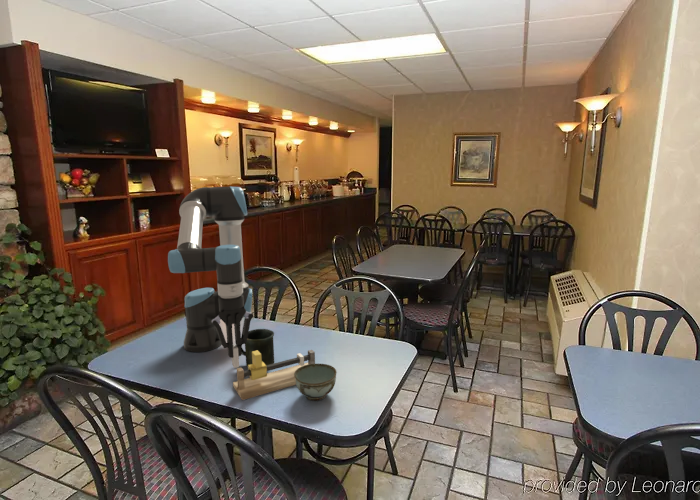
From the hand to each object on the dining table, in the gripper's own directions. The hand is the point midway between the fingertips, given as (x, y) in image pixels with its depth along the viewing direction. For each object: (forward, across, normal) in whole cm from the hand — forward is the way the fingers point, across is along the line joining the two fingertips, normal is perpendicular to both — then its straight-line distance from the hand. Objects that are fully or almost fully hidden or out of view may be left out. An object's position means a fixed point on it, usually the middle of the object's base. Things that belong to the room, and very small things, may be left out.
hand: (235, 365), depth 135 cm
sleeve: (+6, +7, 0) cm, 9 cm away
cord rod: (+4, +14, 0) cm, 15 cm away
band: (+5, +23, 0) cm, 23 cm away
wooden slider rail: (+10, +14, 0) cm, 17 cm away
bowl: (+10, +21, -15) cm, 28 cm away
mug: (+10, +12, +17) cm, 23 cm away
